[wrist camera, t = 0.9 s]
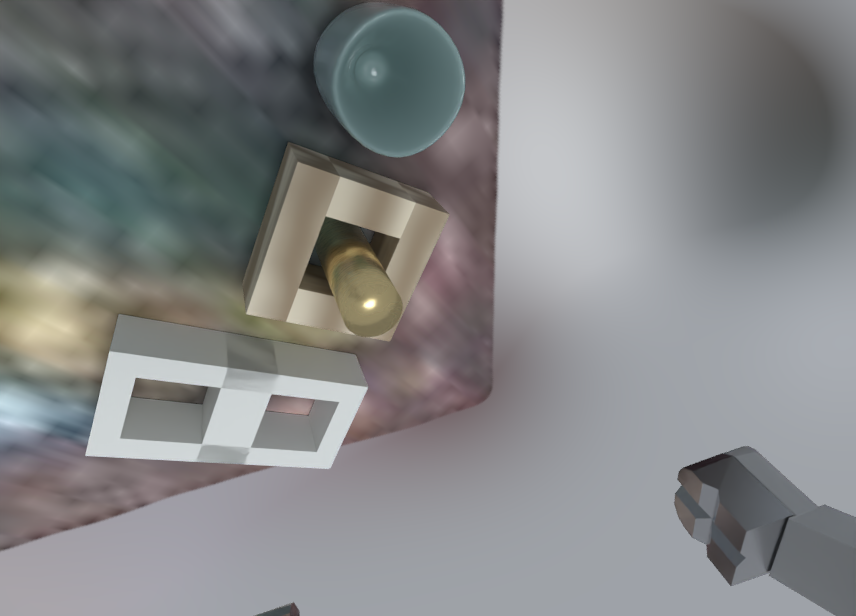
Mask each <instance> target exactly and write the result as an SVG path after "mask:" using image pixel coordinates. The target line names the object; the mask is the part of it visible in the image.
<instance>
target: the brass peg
mask: <svg viewBox="0 0 856 616" xmlns="http://www.w3.org/2000/svg"><path fill="white" fill-rule="evenodd" d="M314 247H315V249H316V252H317V255H318V257H319V260H320V262H321V265H322V267H323V270H324V273H325V275H326V278H327V280H328V283H329V285H330V288H331V290H332V293H333V296H334V298H335V301H336V303H337V306H338V308H339V311H340V314H341V316H342V319H343V321H344V324H345V326H346V327H347V328H348V330H349V331H351V332H352V333H354V334H355V335H358V336H361V337H375V336H379V335H381V334H384V333H386V332H387V331H389V330H390V329H392V328H393V327H394V326H395V325H396V323H397V322H398V321H399V319H400V317H401V314H402V310H403V303H402V299H401V297H400V295H399V294H398V292H397V290H396V288H395V287H394V285H393V283H392V282H391V280H390V278H389V277H388V275H387V273H386V272H385V270H384V268H383V266H382V265H381V263H380V261H379V260H378V258H377V256H376V255H375V253H374V251H373V250H372V248H371V246H370V244H369V243H368V241H367V239H366V238H365V236H364V234H363V233H362V231H361V229H360V228H359V226H357V225H353V224H350V223H347V222H343V221H340V220H337V219H333V218H330V217H327V216H326V217H325V219H324V222H323V224H322V227H321V230H320V232H319V235H318V238H317V240H316V243H315V246H314Z"/></svg>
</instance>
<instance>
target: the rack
mask: <svg viewBox="0 0 856 616" xmlns="http://www.w3.org/2000/svg"><path fill="white" fill-rule="evenodd" d="M135 378H144V379H152V380H160V381H168V382H177V383H185V384H193V385H201V386H208V389H207V392H206V395H205V398H204V401H203V404H192V403H183V402H173V401H164V400H154V399H144V398H135V397H131V394H132V390H133V386H134V382H135ZM367 389H368V385H367V383H366V380H365V378H364V375H363V373H362V370H361V367H360V365H359V362H358V360H357V357H356V354H350V353H344V352H338V351H332V350H327V349H321V348H315V347H309V346H303V345H297V344H292V343H286V342H280V341H274V340H268V339H262V338H257V337H251V336H245V335H239V334H233V333H227V332H222V331H216V330H210V329H204V328H198V327H192V326H187V325H181V324H175V323H169V322H163V321H157V320H152V319H146V318H140V317H134V316H128V315H122V314H119V315H118V319H117V323H116V327H115V331H114V335H113V339H112V343H111V347H110V351H109V355H108V360H107V364H106V368H105V373H104V377H103V381H102V386H101V390H100V394H99V399H98V403H97V407H96V412H95V416H94V420H93V425H92V429H91V433H90V438H89V442H88V446H87V451H86V455H85V456H99V457H118V458H136V459H155V460H174V461H192V462H211V463H229V464H248V465H267V466H287V467H304V468H323V469H330V467H331V465H332V463H333V461H334V459H335V457H336V454H337V452H338V450H339V448H340V446H341V444H342V442H343V440H344V438H345V436H346V433H347V431H348V429H349V427H350V425H351V423H352V421H353V419H354V416H355V414H356V412H357V410H358V408H359V406H360V404H361V402H362V399H363V397H364V395H365V393H366V391H367ZM271 394H276V395H284V396H292V397H301V398H309V399H315V401H314V404H313V406H312V408H311V411H310V413H309V415H298V414H288V413H279V412H269V411H265V410H266V407H267V405H268V402H269V399H270V397H271Z"/></svg>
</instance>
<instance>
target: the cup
mask: <svg viewBox="0 0 856 616" xmlns="http://www.w3.org/2000/svg"><path fill="white" fill-rule="evenodd" d="M313 70H314V77H315V82H316V85H317V87H318V90H319V93H320V95H321V97H322V99H323V100H324V102H325V104H326V105H327V107H328V109H329V110H330V112H331V113H332V114H333V116H334V117H335V118H336V119H337V120H338V122H339V123H340V124H341V125H342V126H343V128H344V129H345V130H346V131H347V132H348V133H349V134H350V135H351V136H352V137H353V138H354V139H355V140H357V141H358V142H359V143H360V144H361V145H363V146H364V147H366V148H368V149H370V150H371V151H373V152H375V153H378V154H381V155H384V156H388V157H398V158H399V157H405V156H411V155H413V154H416V153H419V152H421V151H423V150H424V149H426V148H428V147H429V146H431V145H432V144H434V143H435V142H436V141H437V140H438V139H439V138H440V137H441V136H442V135H443V134H444V133H445V132H446V131H447V130H448V128H449V127H450V126H451V124H452V123H453V121H454V119H455V118H456V116H457V114H458V112H459V109H460V107H461V105H462V102H463V97H464V92H465V72H464V67H463V62H462V60H461V57H460V55H459V52H458V49H457V48H456V46H455V44H454V43H453V41H452V39H451V37H450V36H449V35H448V34H447V33H446V31H445V30H444V29H443V28H442V27H441V26H440V24H438V23H437V22H436V21H435V20H433V19H432V18H431V17H430V16H428V15H426V14H424V13H422V12H420V11H418V10H416V9H414V8H411V7H407V6H402V5H397V4H392V3H387V2H369V3H362V4H359V5H356V6H353V7H350V8H348V9H347V10H345V11H344V12H342V13H340V14H339V15H338V16H337V17H336V18H334V19H333V20H332V21H331V22H330V23H329V25H328V26H327V27H326V29H325V30H324V31H323V33H322V35H321V37H320V39H319V41H318V43H317V46H316V49H315V53H314V60H313Z"/></svg>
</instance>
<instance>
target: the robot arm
mask: <svg viewBox="0 0 856 616" xmlns="http://www.w3.org/2000/svg"><path fill="white" fill-rule="evenodd" d="M678 481H679V482H680V483H681V485H682V486H681V487H680V488H679V489H678V491H677V492H676V493H675V502H674V504H675V508H676V511H677V514H678V517H679V519H680V521H681V522H682V524H683V526H684V527H685V529H686V530H687V531H688V533H689V534H690V535H691V537H692V538H694V539H696V540H698V541H700V542H702V543H704V544H706V546H707V557H708V558H709V559H710V561H711V562H712V563H713V564H714V566H715V567H716V568H717V569H718V571H719V572H720V573H721V574H722V576H723V577H724V578H725V579H726V581H727V582H728V583H729V585H730V586H733V585H736V584H739V583H742V582H745V581H747V580H751V579H753V578H756V577H759V576H762V575H765V574H767V573H770V574H769V576H771V577H772V578H774V579H776V580H777V581H779V582H780V583H782V584H784V585H785V586H787V587H789V588H791V589H792V590H794V591H795V592H797V593H799V594H800V595H802V596H804V597H806V598H807V599H809V600H810V601H812V602H814V603H815V604H817V605H819V606H820V607H822V608H824V609H825V610H827V611H829V612H831V613H832V614H834V615H836V616H856V517H854V516H851V515H849V514H847V513H844V512H842V511H839V510H837V509H834V508H832V507H829V506H827V505H822V506H819V507H818V506H817V505H816V504H815V503H813V502H812V501H811V500H810V499H809V498H808V497H807V496H806V495H805V494H804V493H803V492H802V491H800V490H799V489H798V488H797V487H796V486H795V485H794V484H792V482H790V481H789V480H788V479H787V478H786V477H785V476H784V475H783V474H782V473H781V472H780V471H778V470H777V469H776V468H775V467H774V466H773V465H772V464H771V463H769V461H767V460H766V459H765V458H764V457H763V456H762V455H761V454H760V453H759V452H757V451H756V450H755V449H753V448H751V447H749V446H743V447H740V448H737V449H734V450H731V451H729V452H726V453H722V454H719V455H716V456H713V457H711V458H708V459H705V460H702V461H700V462H697V463H695V464H692V465H689V466H686V467H683V468H682V469H681V470H680V471H679V473H678ZM255 616H300V615H299V610H298V608H297V606H296V605H295V603H294V602H293V603H290V604H287V605H284V606H281V607H279V608H275V609H272V610H270V611H267V612H264V613H261V614H258V615H255Z"/></svg>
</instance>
